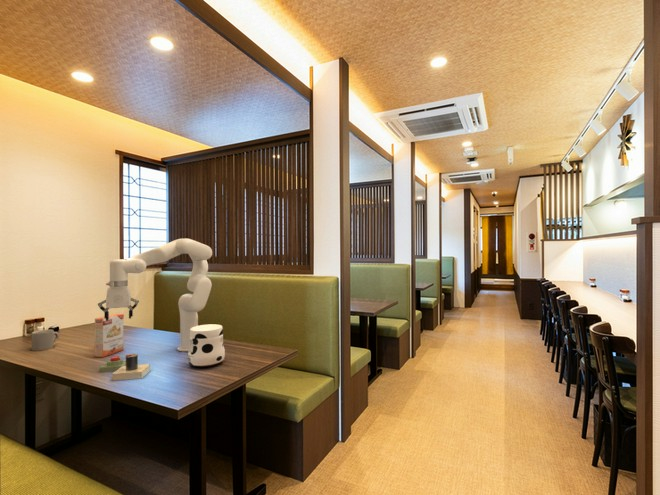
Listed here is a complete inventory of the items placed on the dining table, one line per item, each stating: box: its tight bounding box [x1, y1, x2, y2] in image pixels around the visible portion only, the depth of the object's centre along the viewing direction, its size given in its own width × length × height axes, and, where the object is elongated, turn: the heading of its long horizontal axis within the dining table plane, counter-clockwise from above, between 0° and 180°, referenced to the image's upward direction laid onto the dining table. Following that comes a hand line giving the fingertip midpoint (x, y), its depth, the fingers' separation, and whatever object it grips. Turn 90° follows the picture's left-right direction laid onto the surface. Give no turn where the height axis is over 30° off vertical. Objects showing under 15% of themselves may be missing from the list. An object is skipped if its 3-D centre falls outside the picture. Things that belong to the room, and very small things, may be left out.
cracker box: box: [94, 313, 125, 358], centre depth 188 cm, size 14×6×21 cm, turn 168°
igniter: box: [99, 357, 126, 373], centre depth 163 cm, size 10×8×4 cm
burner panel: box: [111, 363, 151, 381], centre depth 154 cm, size 12×10×3 cm
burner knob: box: [125, 353, 139, 371], centre depth 154 cm, size 5×5×6 cm
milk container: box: [187, 323, 226, 368], centre depth 168 cm, size 17×17×18 cm
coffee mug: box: [31, 329, 60, 352], centre depth 202 cm, size 13×10×10 cm
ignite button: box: [110, 355, 120, 362], centre depth 163 cm, size 4×4×2 cm
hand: (118, 319), depth 166 cm, fingers open, 9 cm apart
